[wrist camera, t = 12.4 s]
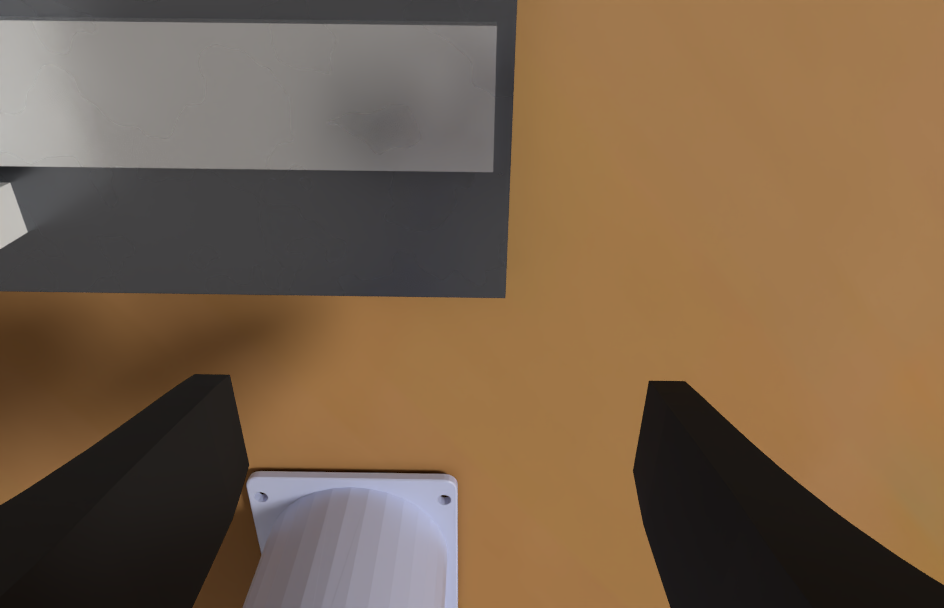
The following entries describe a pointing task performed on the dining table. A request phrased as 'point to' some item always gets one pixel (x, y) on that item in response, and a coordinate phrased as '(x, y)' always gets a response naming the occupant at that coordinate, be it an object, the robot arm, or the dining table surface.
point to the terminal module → (10, 216)
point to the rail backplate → (258, 146)
